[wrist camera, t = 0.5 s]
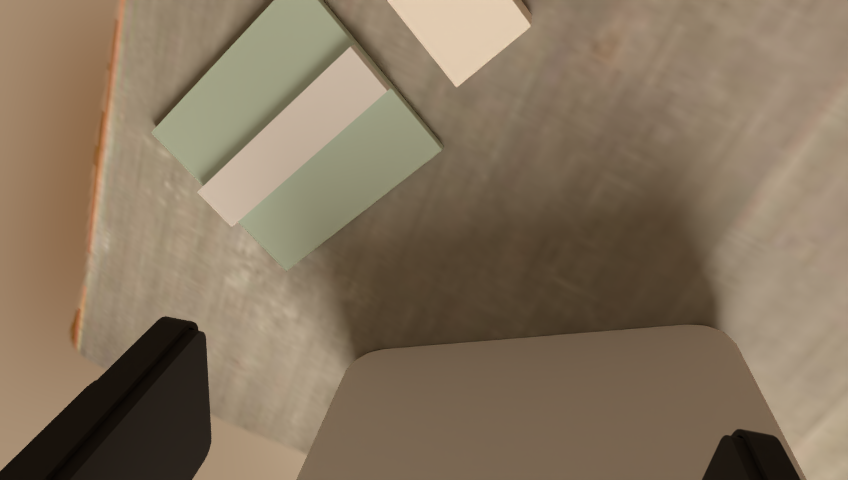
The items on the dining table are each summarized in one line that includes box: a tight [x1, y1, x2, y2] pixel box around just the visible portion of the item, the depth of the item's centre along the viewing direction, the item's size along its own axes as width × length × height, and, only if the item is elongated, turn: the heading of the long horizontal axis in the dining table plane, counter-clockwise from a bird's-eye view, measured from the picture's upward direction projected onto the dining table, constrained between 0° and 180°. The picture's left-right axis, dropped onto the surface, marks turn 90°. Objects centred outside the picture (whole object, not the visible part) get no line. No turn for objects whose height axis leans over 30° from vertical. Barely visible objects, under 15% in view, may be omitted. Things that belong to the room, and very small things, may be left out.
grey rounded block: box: [297, 324, 806, 480], centre depth 39 cm, size 29×8×18 cm, turn 102°
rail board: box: [151, 0, 444, 271], centre depth 41 cm, size 16×14×2 cm
